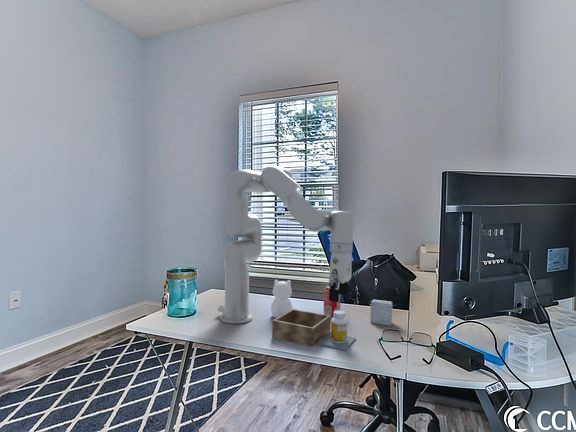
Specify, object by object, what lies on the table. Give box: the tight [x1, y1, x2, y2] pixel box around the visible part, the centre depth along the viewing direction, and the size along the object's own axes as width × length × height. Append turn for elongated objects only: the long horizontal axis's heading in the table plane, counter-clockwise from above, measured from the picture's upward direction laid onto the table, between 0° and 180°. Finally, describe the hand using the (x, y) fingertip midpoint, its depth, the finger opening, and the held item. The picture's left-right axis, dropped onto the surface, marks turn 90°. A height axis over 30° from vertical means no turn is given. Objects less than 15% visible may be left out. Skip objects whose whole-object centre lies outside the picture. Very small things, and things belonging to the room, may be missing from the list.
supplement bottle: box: [330, 310, 348, 343], centre depth 114 cm, size 5×5×10 cm
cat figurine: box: [270, 279, 293, 319], centre depth 140 cm, size 9×12×15 cm
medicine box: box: [369, 298, 393, 327], centre depth 135 cm, size 8×4×9 cm, turn 65°
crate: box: [271, 308, 332, 348], centre depth 121 cm, size 16×16×6 cm
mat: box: [321, 335, 357, 352], centre depth 114 cm, size 8×11×1 cm
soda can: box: [323, 284, 341, 317], centre depth 144 cm, size 7×7×12 cm
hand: (338, 297), depth 114 cm, fingers open, 9 cm apart
